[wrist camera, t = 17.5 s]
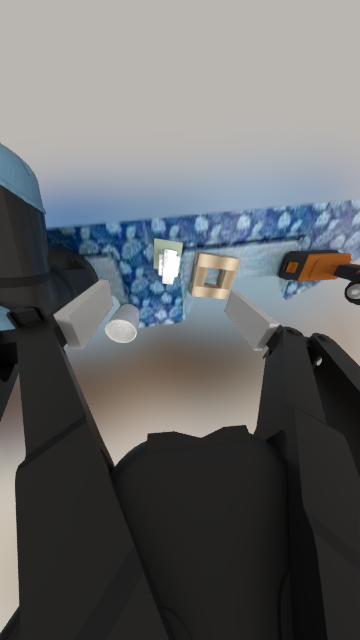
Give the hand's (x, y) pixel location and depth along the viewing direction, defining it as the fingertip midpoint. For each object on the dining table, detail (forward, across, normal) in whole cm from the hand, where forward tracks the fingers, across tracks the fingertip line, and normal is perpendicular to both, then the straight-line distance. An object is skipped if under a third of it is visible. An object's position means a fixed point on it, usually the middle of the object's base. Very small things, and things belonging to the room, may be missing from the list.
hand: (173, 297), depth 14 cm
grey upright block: (+24, 0, +1) cm, 24 cm away
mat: (+25, 0, +1) cm, 25 cm away
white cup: (+25, -12, -18) cm, 33 cm away
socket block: (+25, +13, -3) cm, 28 cm away
